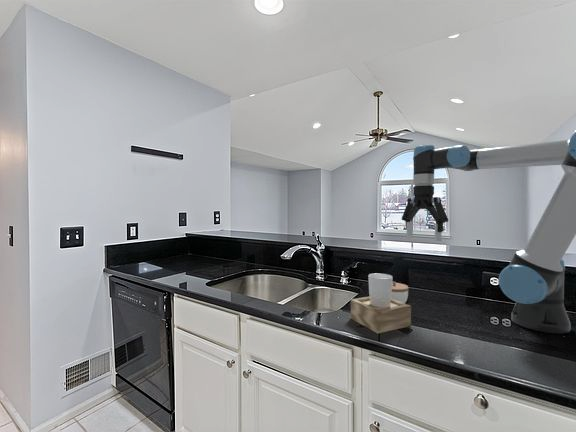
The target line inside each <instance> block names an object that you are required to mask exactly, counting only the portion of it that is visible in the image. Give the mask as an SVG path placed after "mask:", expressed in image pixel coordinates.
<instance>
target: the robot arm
mask: <svg viewBox="0 0 576 432" xmlns="http://www.w3.org/2000/svg"><path fill="white" fill-rule="evenodd" d="M412 159H413V175H412V176H413V177H412V179H413V181H412V182H413V183H412V185H413V188H412V195H413V196H414V197H413V198H411V197H409V198H408V199H407V202H406V206H405V209H404V211H403V214H402V216H401V220H402V221H404V222H405V230H406V238H408V239H410V238H413V237H414V234H413V233H414V230H413V229H414V222H413V221H412V220H413V219H414V217H416V215H417V213H418V212H419V211H420V210H427V211H428V212H429V214H430V215H431V216H432V218H433V219H434V221H435V223H434V241H435V242H441V241H442V233H443V232H444V224H445V223H448V222H449V218H448V216H447V213H446V211H445V209H444V207H443V205H442V198H441V197H439V196H434V194H435V185H434V184H435V170H439V169H454V170H460V171H464V172H472V171H476V170H490V169H508V168H524V167H525V168H527V167H530V168H531V167H546V166H548V167H549V166H560V167H561V168H562V170H563V172H564V174H563V175H562V177H561V180H560V181H559V183H558V186H556V190H555V191H554V193H553V195H552V196H551V198H550V200H549V202H548V204H547V206H546V207H545V209H544V212H543V213H542V215H541V216H540V219H539V221H538V222H537V225H536V227H535V229H534V230H533V231H532V234H531V236H530V238H529V240H528V241H527V243H526V245H525V248H523V249H519V250H517V251H515V253H514V255H513V257H512V259H511V261H510V262H509V264H508V265H507V266H505V267H504V268H503V269H502V270H501V272H499V275H498V284H499V288H500V289H501V291H502V292H503V294H504V295H505V296H506V297H507V298H509V299H510V300H512V301H514V302H515V305H514V307H513V309H512V311H511V322H513V323H514V324H516V325H517V326H521V327H523V328H526V329H530V330H533V331H537V332H541V333H546V334H547V333H549V334H567V333H571V329H572V328H571V327H572V324H571V321H570V318H569V316H568V314H567V310H566V308H565V305H564V303H565V301H564V299H565V270H566V267H565V266H566V265H565V261H564V260H563V257H564V256H565V254H566V253H567V251H568V249H569V247H570V245H571V244H572V242H573V240H574V238H575V237H576V130H575V131H574V132H573V133H572V135H571V136H570V138H569V139H567V140H566V139H564V140H556V141H547V142H546V141H544V142H538V143H537V142H536V143H528V144H527V143H526V144H519V145H518V144H517V145H508V146H498V147H489V148H480V149H471V150H470V149H469V148H468V146H467V145H465V144H461V145H452V146H448V147H443V148H442V147H441V148H437V149H435V146H434V145H432V144H422V145H418V146H415V147H414V149H413V157H412Z"/></svg>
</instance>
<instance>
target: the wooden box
mask: <svg viewBox="0 0 576 432" xmlns="http://www.w3.org/2000/svg"><path fill="white" fill-rule="evenodd" d="M350 319H351V320H353V321H355V322H357V324H360V325H362V326H364V327H365V328H367V329H369V330H371V331H372V332H375V334H382V333H386V332H389V331H395V330H399V329H403V328H408V327H411V326H412V305H410V304H407V303H406V302H405V303H402V302H400V301H397V300H395V299H392V298H391V304H390V307H387V308H378V307H374V306H372V305H371V304H370V296H364V297H358V298H351V299H350Z"/></svg>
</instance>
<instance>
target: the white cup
mask: <svg viewBox="0 0 576 432" xmlns="http://www.w3.org/2000/svg"><path fill="white" fill-rule="evenodd" d="M392 283H393V275H391V274H387V273H379V272H378V273H377V272H376V273H369V274H368V294H369V296H370V304H371V305H372V306H374V307H378V308H387V307H390V304H391V295H392ZM369 296H368V297H369Z"/></svg>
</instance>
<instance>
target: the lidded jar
mask: <svg viewBox="0 0 576 432" xmlns="http://www.w3.org/2000/svg"><path fill="white" fill-rule="evenodd" d="M408 297H409V286H408V285H407V284H405V283H401V282H396V281H393V280H392V295H391V298H392V299H395V300H397V301H400V302H402V303H405V304H406V302H407V300H408V299H409V298H408Z"/></svg>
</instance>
